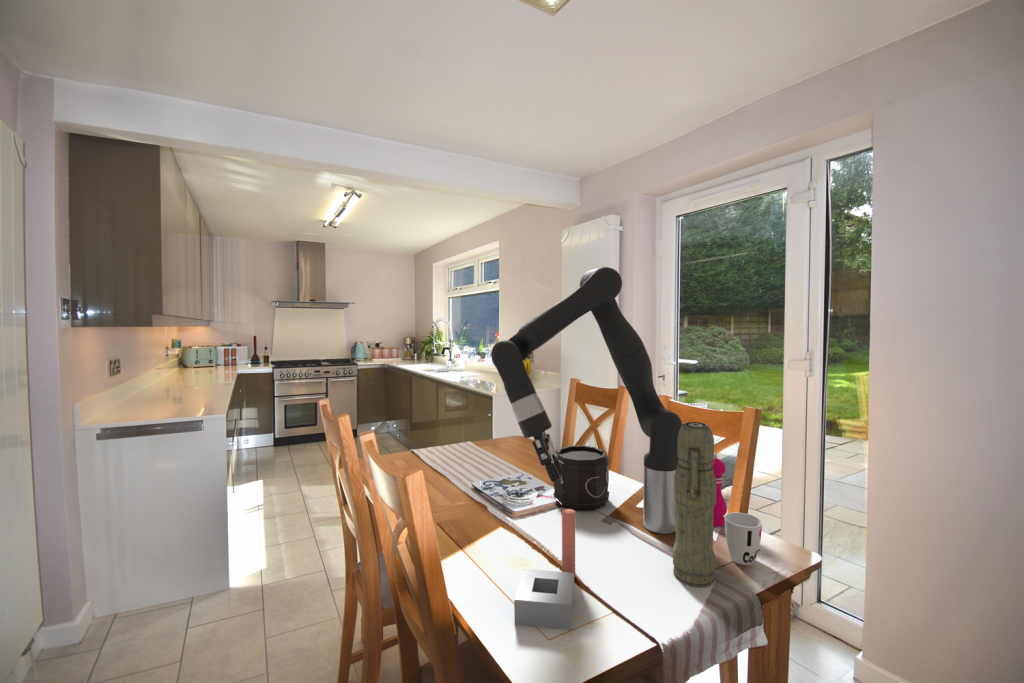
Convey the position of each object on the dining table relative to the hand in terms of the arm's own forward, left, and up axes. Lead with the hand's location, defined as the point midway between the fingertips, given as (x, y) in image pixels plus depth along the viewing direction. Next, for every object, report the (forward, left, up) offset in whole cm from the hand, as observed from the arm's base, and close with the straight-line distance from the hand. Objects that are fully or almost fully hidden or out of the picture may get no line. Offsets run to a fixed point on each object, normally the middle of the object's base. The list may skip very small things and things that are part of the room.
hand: (557, 477), depth 115 cm
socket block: (+1, +21, -20) cm, 29 cm away
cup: (-44, -5, -20) cm, 49 cm away
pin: (-3, +8, -20) cm, 22 cm away
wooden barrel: (-5, -35, -20) cm, 41 cm away
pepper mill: (-42, -25, -20) cm, 53 cm away
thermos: (-31, +4, -20) cm, 37 cm away
